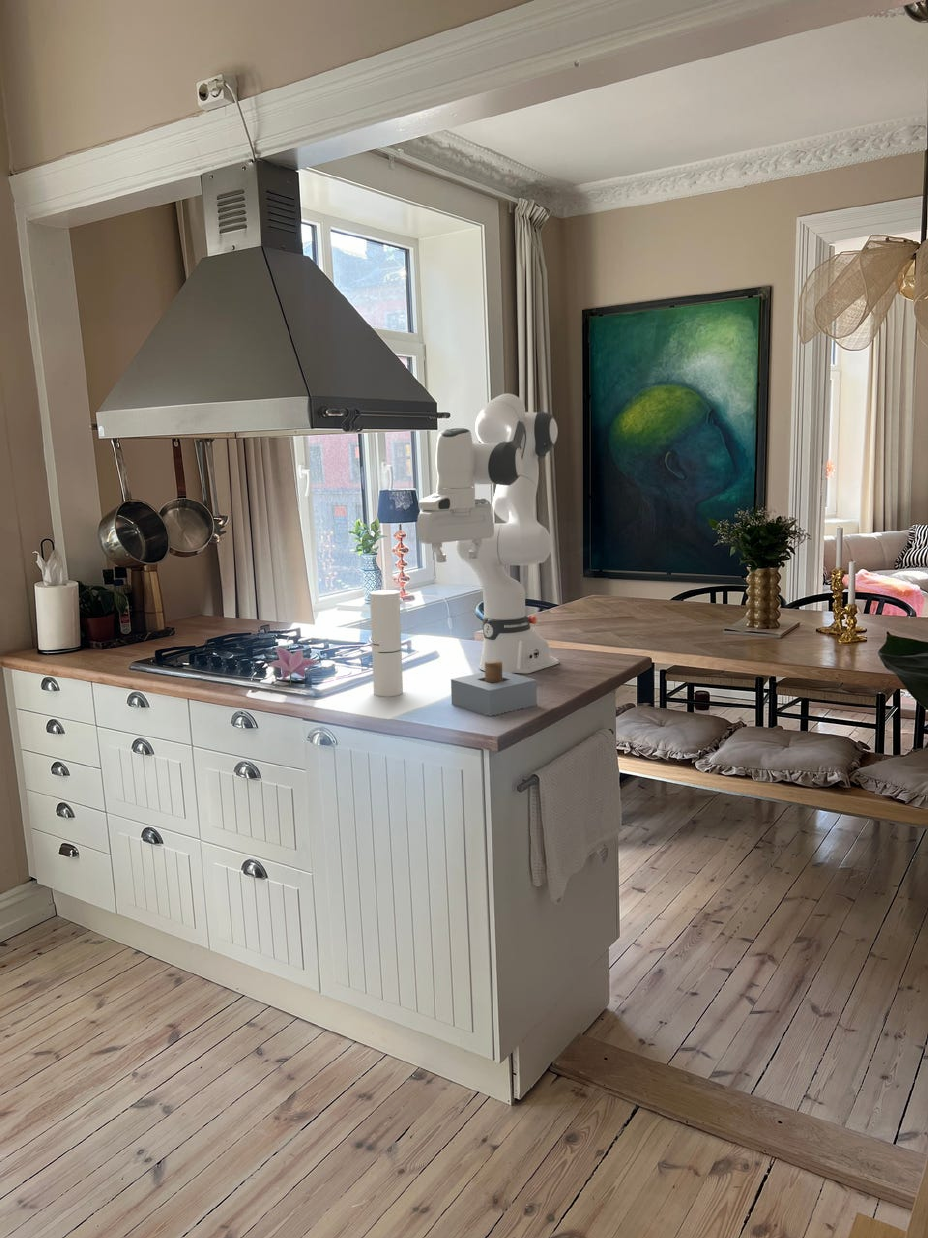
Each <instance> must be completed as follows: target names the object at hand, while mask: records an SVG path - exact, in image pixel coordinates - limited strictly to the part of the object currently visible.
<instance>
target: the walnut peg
mask: <svg viewBox="0 0 928 1238" xmlns="http://www.w3.org/2000/svg"><path fill="white" fill-rule="evenodd" d="M484 672H485V682H488V683H491V684H493V683H498V682H502V662H501V661H487V662H485V671H484Z"/></svg>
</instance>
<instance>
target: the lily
mask: <svg viewBox="0 0 928 1238" xmlns="http://www.w3.org/2000/svg"><path fill="white" fill-rule="evenodd" d="M275 651H276V655H277V656H278V659H279V660H278V659H277V660H274V661H271V662H269V663H268V666H272V667H275V668H280V670H281V677H282V679H286V678H288V677H289V685H290V684H291V685H292V675H293V674H297V676H301V677H302V678H304V675H305V672H307V671H306V669H307V668H308V669H309V668H311V667H313V666H316V665H319V664H320V662H319V661H318V660H316V659H313V658H308V657H304V650H302V649H300V650H297V651H295V652H293V653H291V651H289V650H287V649H285V648H282V647H280V646H275Z"/></svg>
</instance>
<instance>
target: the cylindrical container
mask: <svg viewBox="0 0 928 1238" xmlns="http://www.w3.org/2000/svg"><path fill="white" fill-rule="evenodd" d="M400 593H401V592H400V590H397V589H380V590H378V589H377V590H372V591H370V592H369V601H370V602H369V603H370V604H369V605H370V607H369V608H370V626H371V629H370V631H371V632H370V633H371V634H370V635H371V652H372V654H371V655H372V676H373V679H372V682H373V694H374V695H375V696H378V697H394V696H395V697H396V696H399V695H402V694H403V693H404V684H403V680H404V679H403V659H402V658H403V657H402V656H403V655H402V654H403V653H402V650H403V649H402V630H401V629H402V628H401V627H402V623H401V597H400V595H401V594H400Z"/></svg>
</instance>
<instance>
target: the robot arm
mask: <svg viewBox="0 0 928 1238" xmlns="http://www.w3.org/2000/svg"><path fill="white" fill-rule="evenodd" d="M474 426H475V427H474V429H475V434H476V437H477V439H478V443H477V442H476V443H475V442H473V437H472V432H471V430H470V429H467V428H461V427H458V428H450V429H449V428H447V429H444V430H442V431H440V432H439V433H438V435H437V440H436V447H435V448H436V449H435V471H436V473H437V482H436V492H434V493H432V494H431V495H429V496H426V497H424V498H422V499H420V500H419V501H418V509H419V510H420V511H419V513H418V515H417V519H416V520H417V521H416V528H417V529H416V530H417V531H416V535H417V540H418V541H419V542H420V544H424V545H425V544H427V545H428V544H429V545H431V548H432V550H433V553H434V554H435V555H436V562H437V563H446V562H447V554H445V553H444V554H443V551H442V549H441V548H442V547H443V543H450V542H455V543H456V544H455V545H456V551H457V553H458V555H459V557H460V559H461V560H462V561H463V562H464V563H466V564H467V565H468V566H469V567H470V568H471V569H472V570H473V571H474V574H475V575H476V577H477V578H478V580H479V582H480V585H481V589H482V590H481V591H482V597H483V600H482V601H483V614H484V615H483V616H482V632H483V643H482V651H481V657H480V663H479V666H478V669H479V670H482V671H483V672H485V662H487V661H501V662H502V671H505V672H509V673H512V674H530V673H533V672H538V671H540V670H543V669H546V668H549V667H552V666H555V665H558V664H559V659H557V658H556V657H553V656H552V655H551V650H550V645H549V643H548V641H547V640H546V639H545V638H544V637H542V636H541V635H539V634H538V633H537V632H535V630H533V629H532V628H531V624H533V625H536V624H537V623H538V617H537V616H533V615H530V616H527V615H526V591H525V590H526V589H525V587H524V586H523V584H522V583H521V582H519V581H518V580H517V579H515V578H513V577H512V576H510V575H509V574H508V573H507V572H506V570H505V567H504V566H531V565H537V564H542V563H545V562H546V560H547V559H548V558H549V556H550V555H551V552H552V549H553V540H552V536H551V534H550V532H549V531H548V529H547V528H546V527H545V526H543V525H542V524H540V522H539V521H538V520H537V519H536V517H535V514H534V511H535V510H534V509H535V501H536V495H537V490H538V487H539V486H538V485H539V475H540V474H539V472H540V471H539V470H540V469H539V466H540V465H539V460H538V458H539V459H541V460H542V459H544V458H545V457H546V456H547V454H548V453H549V452H551V450H552V449H553V447H554V446H555V445H556V442H557V439H558V431H559V430H558V425H557V421H556V418H555V416H553V414H552V413H549V412H546V411H538V412H536V411H535V412H533V411H526V407H525V404H524V402H523V401H522V399H521V398H520V397H519V396H517V395H516V394H512V393H509V392H508V393H502V394H500V395H497V396H496V397H494V398H493V399H491V400H489V402H488V403H486V405H484V406H483V408H482V409H481V410H480V412H479V413H478V415H477V417H476V421H475V425H474ZM476 485H496V487H495V491H494V495H493V500H492V503H491V502H490V501H489V500H487V499H486V498H481V499H478V498H476ZM492 508H493V511H494V514H495V515H496V516H497V517H498V518H499V519H501V520H502V521H503V523H500V522H499V523H494V517H493V511H492Z"/></svg>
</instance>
